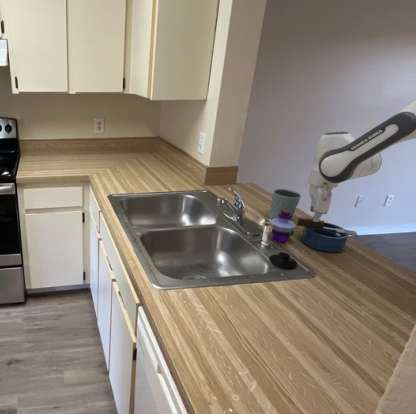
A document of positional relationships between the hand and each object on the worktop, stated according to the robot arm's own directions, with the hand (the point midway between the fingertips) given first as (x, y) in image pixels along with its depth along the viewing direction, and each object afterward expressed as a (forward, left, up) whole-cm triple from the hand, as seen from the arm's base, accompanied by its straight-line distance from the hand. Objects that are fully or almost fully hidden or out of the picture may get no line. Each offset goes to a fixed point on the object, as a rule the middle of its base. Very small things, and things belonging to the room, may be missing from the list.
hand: (314, 215), depth 119 cm
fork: (-4, 0, -4) cm, 6 cm away
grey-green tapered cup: (+8, -17, -11) cm, 22 cm away
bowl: (-5, 0, -10) cm, 11 cm away
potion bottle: (+9, +3, -11) cm, 14 cm away
